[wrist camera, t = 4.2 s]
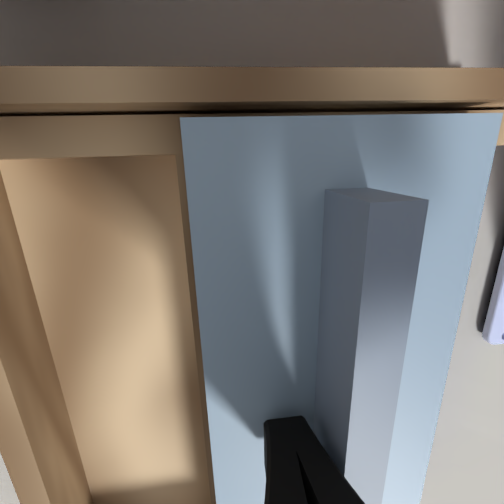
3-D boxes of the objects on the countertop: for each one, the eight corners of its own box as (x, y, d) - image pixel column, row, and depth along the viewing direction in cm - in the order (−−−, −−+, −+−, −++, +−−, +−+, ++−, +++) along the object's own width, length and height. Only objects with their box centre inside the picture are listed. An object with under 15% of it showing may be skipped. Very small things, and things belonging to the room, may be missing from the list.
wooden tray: (464, 84, 11) (597, 45, 7) (393, 493, 18) (443, 586, 14) (-73, 85, 9) (-283, 33, 5) (77, 545, 16) (33, 670, 12)
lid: (480, 116, 9) (621, 95, 6) (396, 552, 15) (442, 651, 12) (182, 120, 8) (163, 98, 5) (225, 584, 14) (228, 701, 11)
